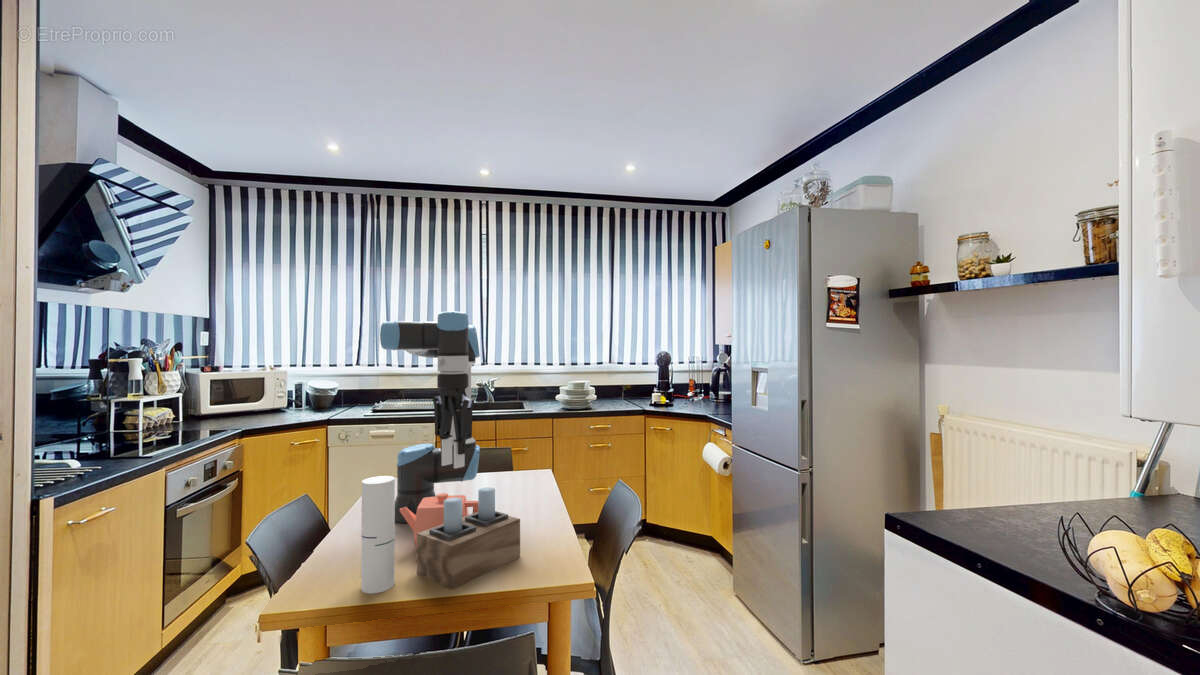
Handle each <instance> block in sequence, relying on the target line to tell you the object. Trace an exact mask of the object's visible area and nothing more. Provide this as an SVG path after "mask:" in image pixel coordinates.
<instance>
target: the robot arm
mask: <svg viewBox="0 0 1200 675" xmlns="http://www.w3.org/2000/svg"><path fill="white" fill-rule="evenodd" d="M380 325H381V326H380V333H379V339H380V340H379V341H380V347H381V348H382V349H383V350H389V351H390V350H391V351H405V352H407V353H408V354H411V355H414V356H418V357H423V358H430V359H431V358H434V359H435V358H436V359H437V372H439V373H438V374H437V380H436V381H437V382H436V384H437V385H436V386H437V388H438V389H439V390H440V393H439V395H438V396H434V397H433V398H432V402H433V407H434V411H433V413H434V435H435V436H437V437H439V439H440V447H435V445H434V443H419V444H414V445H410V446H408V447H405V448H403V449H401V450H400V451H399V452H398V454H397V463H396V468H397V470H396V471H397V472H396V475H397V476H396V477H397V479H396V480H397V482H396V483H397V484H396V490H397V493H396V496H395V523H399V524H408V523H407V521H406V520H405V518H404V517H403V515H402V514H401V512H400V508H404V507H407V508H408V509H409V510H410V511H411V512H413V513H414V514H415V515H416V513H417V508H418V506H419V504H420V502H421V501H422V499H423V498H425V497H436V495H437V494H436V493H435V484H440V483H451V482H461V483H463V482H466V481H473V480H475V479H476V477H477V474H478V469H479V460H480V451H481V450H480V449H481V447H480V445H478V444H477V443H476V439H475V438H474V437H473V408H474V404H475V399H473V398H472V367H473V366H474V365H475V364H476V359H478V358H480V357H481V356H480V354H481V353H480V346H479V339H478V334H477V333H478V332H477V328H476V326H474V325H472V324H469V316H468V314H467V313H466V312H464V311H440V312H438V314H437V321H397V320H394V321H393V320H392V321H384V322H382V323H381V324H380Z"/></svg>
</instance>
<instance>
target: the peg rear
mask: <svg viewBox="0 0 1200 675" xmlns="http://www.w3.org/2000/svg"><path fill="white" fill-rule="evenodd" d="M477 492H478V493H477V494H478V495H477V496H478V499H477V501H478V519H479V520H483V521H488V520H491V519H494V518H495V511H496V489H495V487H481V488H479V489H478V490H477Z"/></svg>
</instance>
